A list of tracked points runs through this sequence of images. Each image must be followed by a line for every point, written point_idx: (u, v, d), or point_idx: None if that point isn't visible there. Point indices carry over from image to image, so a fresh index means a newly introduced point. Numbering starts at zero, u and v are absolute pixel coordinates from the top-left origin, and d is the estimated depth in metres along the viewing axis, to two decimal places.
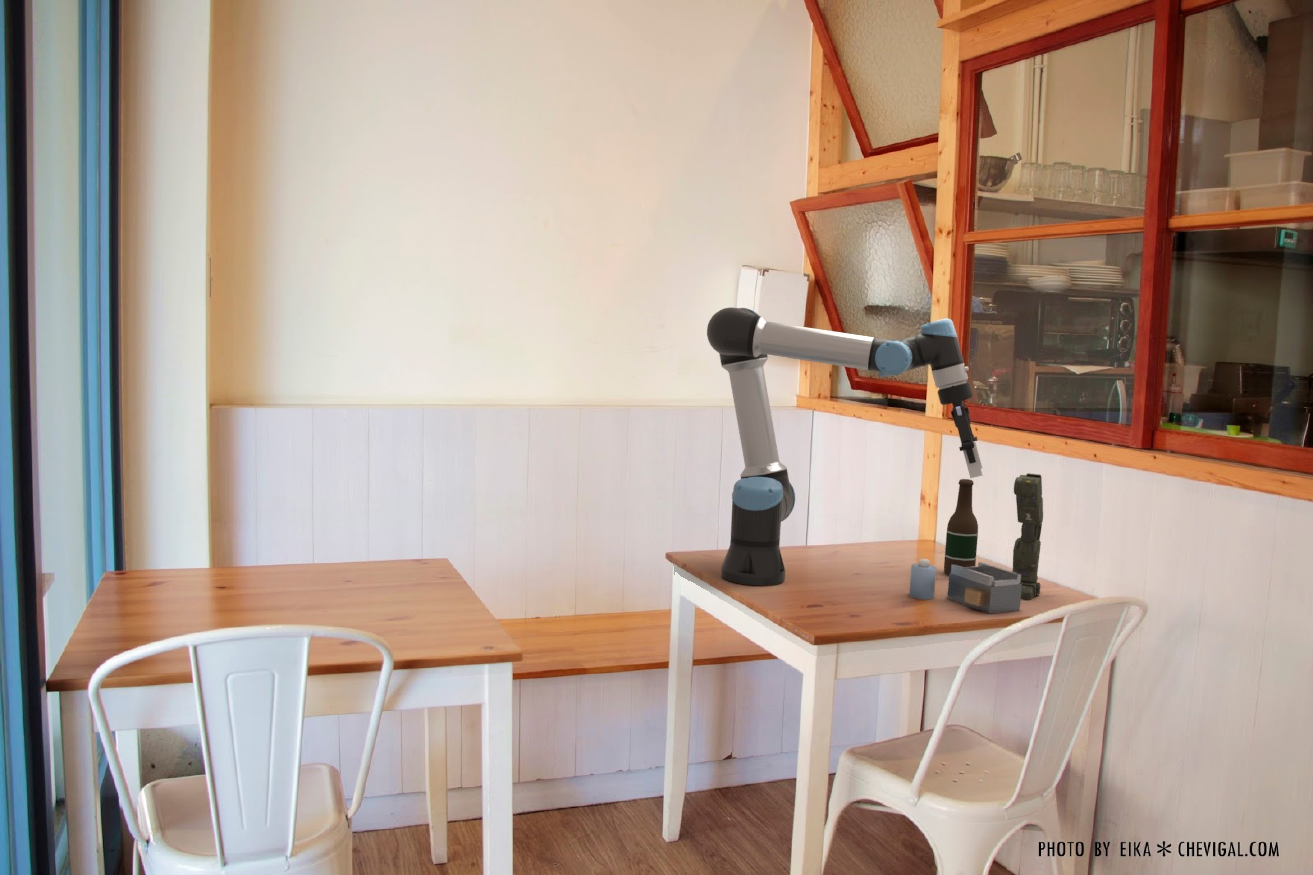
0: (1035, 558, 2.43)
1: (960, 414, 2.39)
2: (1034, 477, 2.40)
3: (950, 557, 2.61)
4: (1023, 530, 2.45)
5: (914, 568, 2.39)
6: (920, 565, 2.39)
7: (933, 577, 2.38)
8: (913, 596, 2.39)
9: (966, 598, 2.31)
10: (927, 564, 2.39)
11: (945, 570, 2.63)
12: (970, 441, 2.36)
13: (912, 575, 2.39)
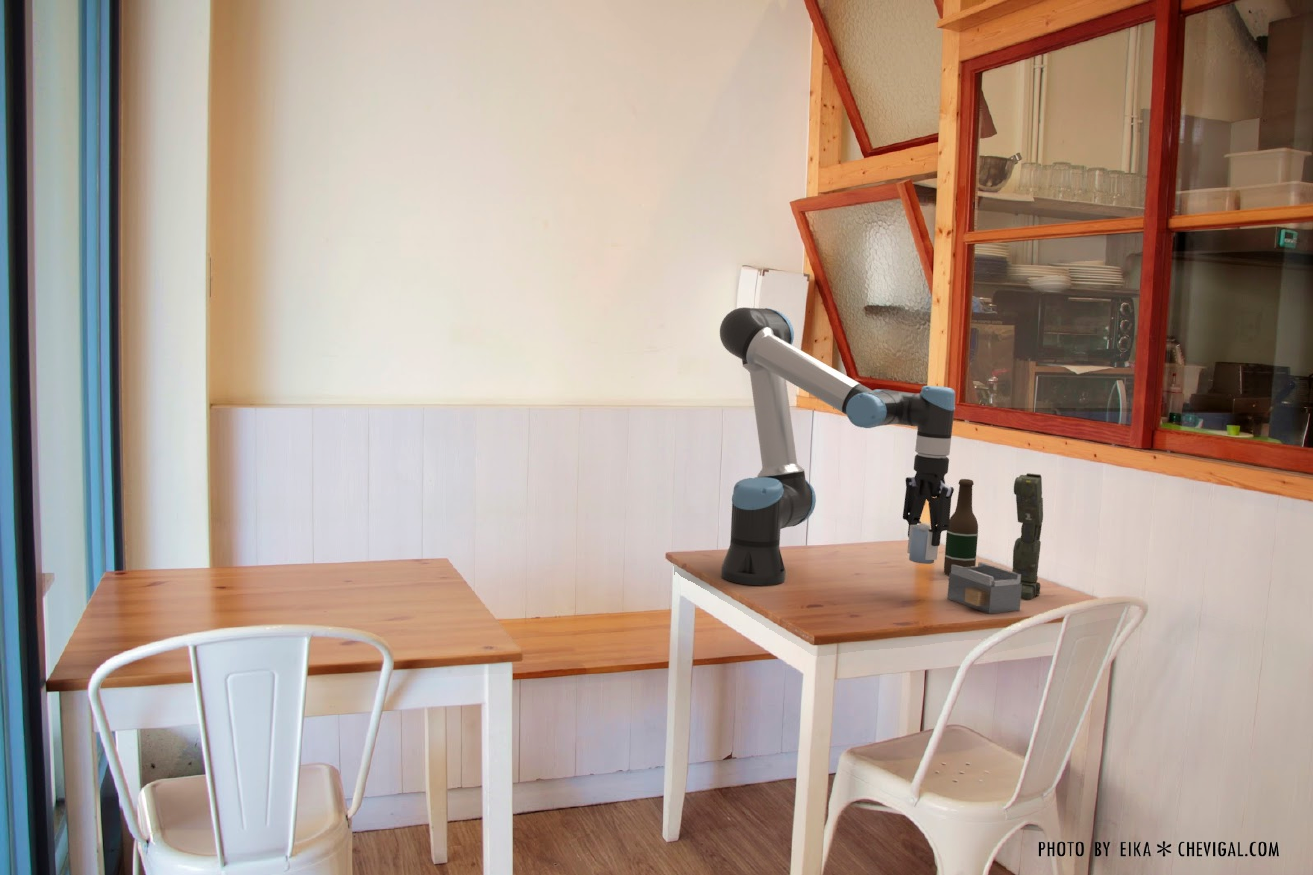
0: (1035, 558, 2.43)
1: (947, 496, 2.33)
2: (1034, 477, 2.40)
3: (950, 557, 2.61)
4: (1023, 530, 2.45)
5: (915, 532, 2.38)
6: (921, 529, 2.38)
7: None
8: (913, 560, 2.38)
9: (966, 598, 2.31)
10: (928, 528, 2.38)
11: (945, 570, 2.63)
12: (947, 526, 2.34)
13: (912, 539, 2.39)
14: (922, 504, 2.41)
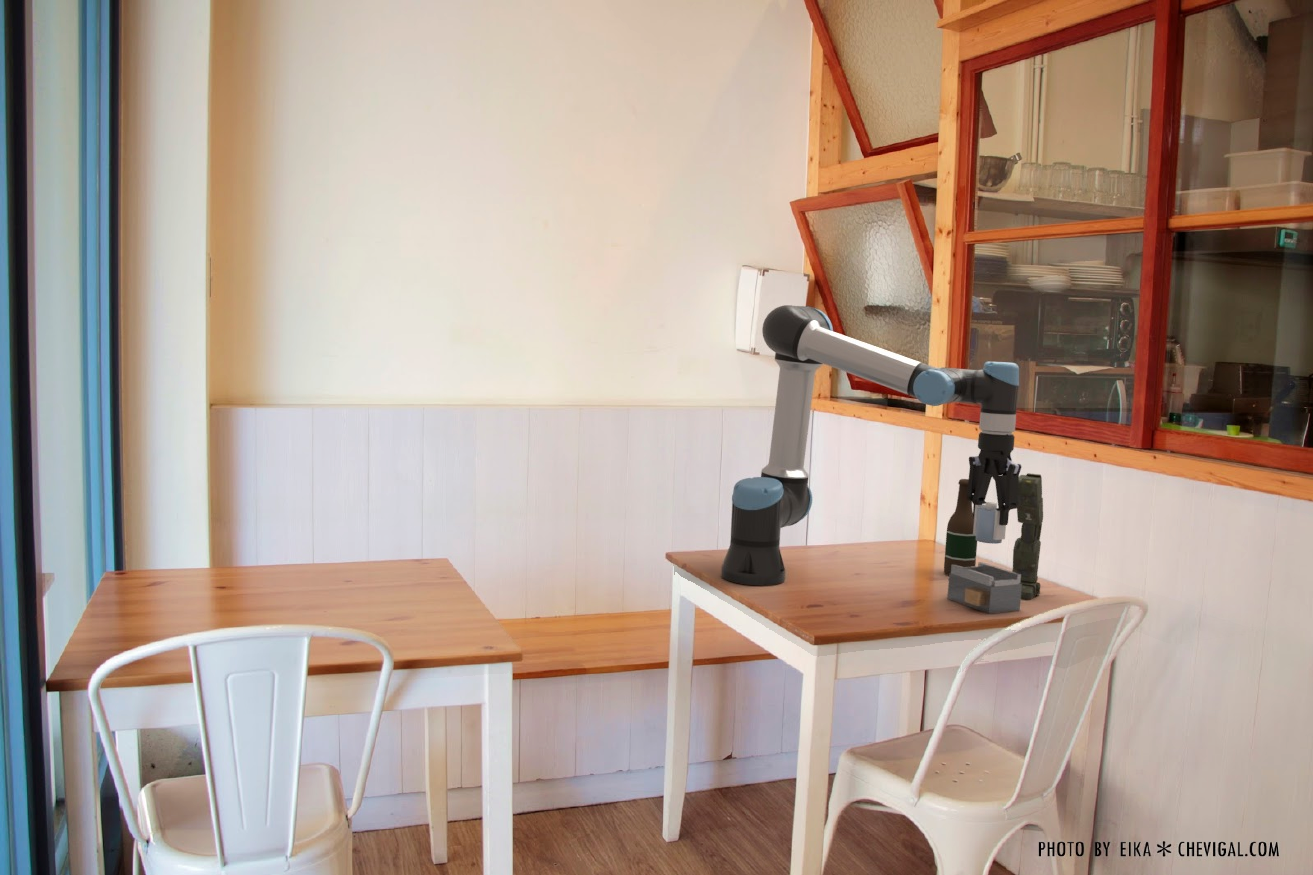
0: (1035, 558, 2.43)
1: (1015, 473, 2.27)
2: (1034, 477, 2.40)
3: (950, 557, 2.61)
4: (1023, 530, 2.45)
5: (981, 511, 2.32)
6: (987, 508, 2.33)
7: None
8: (980, 540, 2.33)
9: (966, 598, 2.31)
10: (995, 507, 2.32)
11: (945, 570, 2.63)
12: (1015, 504, 2.28)
13: (979, 519, 2.33)
14: (987, 483, 2.35)
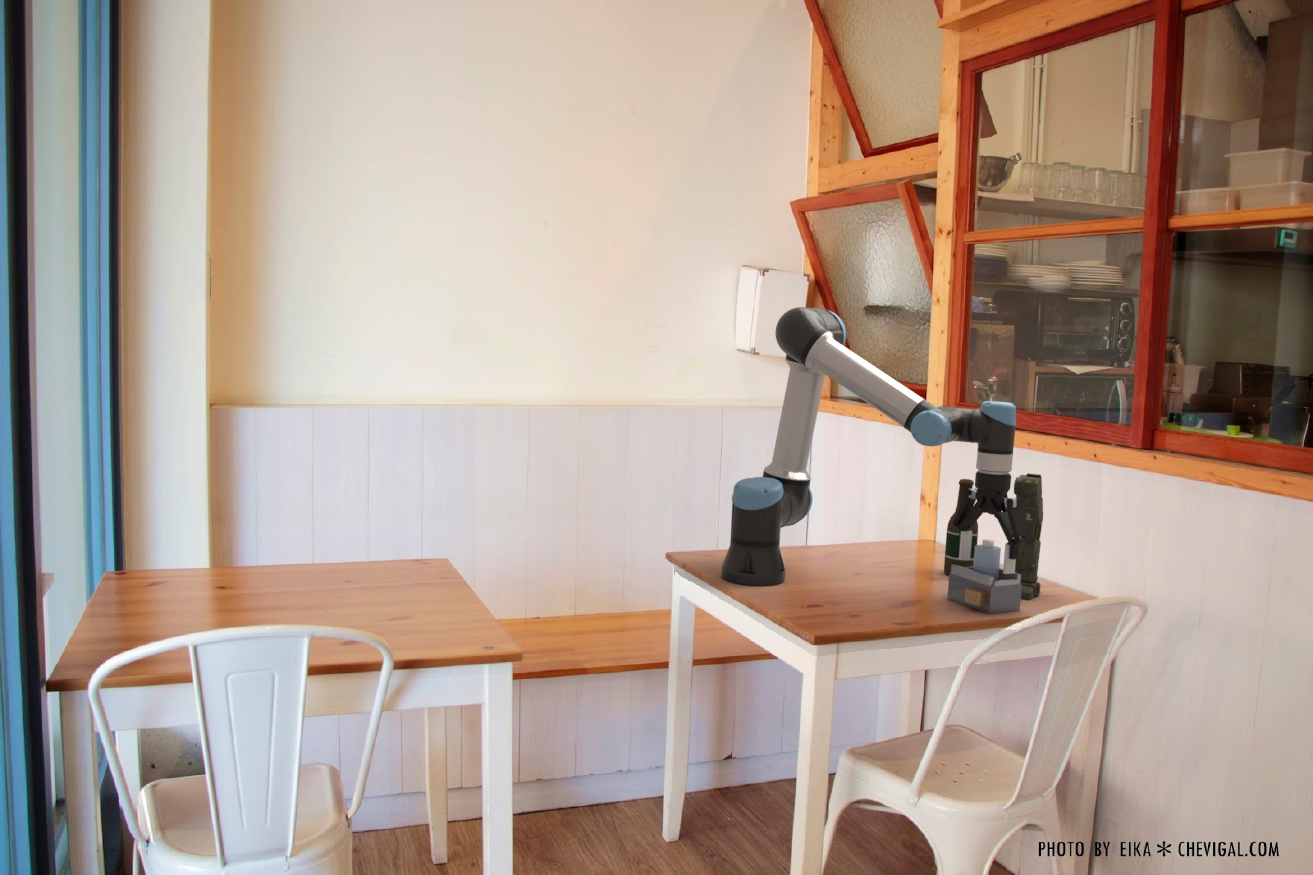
0: (1035, 558, 2.43)
1: (1014, 506, 2.27)
2: (1034, 477, 2.40)
3: (950, 557, 2.61)
4: None
5: (978, 549, 2.33)
6: (984, 546, 2.34)
7: (998, 558, 2.33)
8: None
9: (966, 598, 2.31)
10: (991, 545, 2.33)
11: (945, 570, 2.63)
12: (1025, 538, 2.25)
13: (976, 556, 2.34)
14: (977, 516, 2.38)
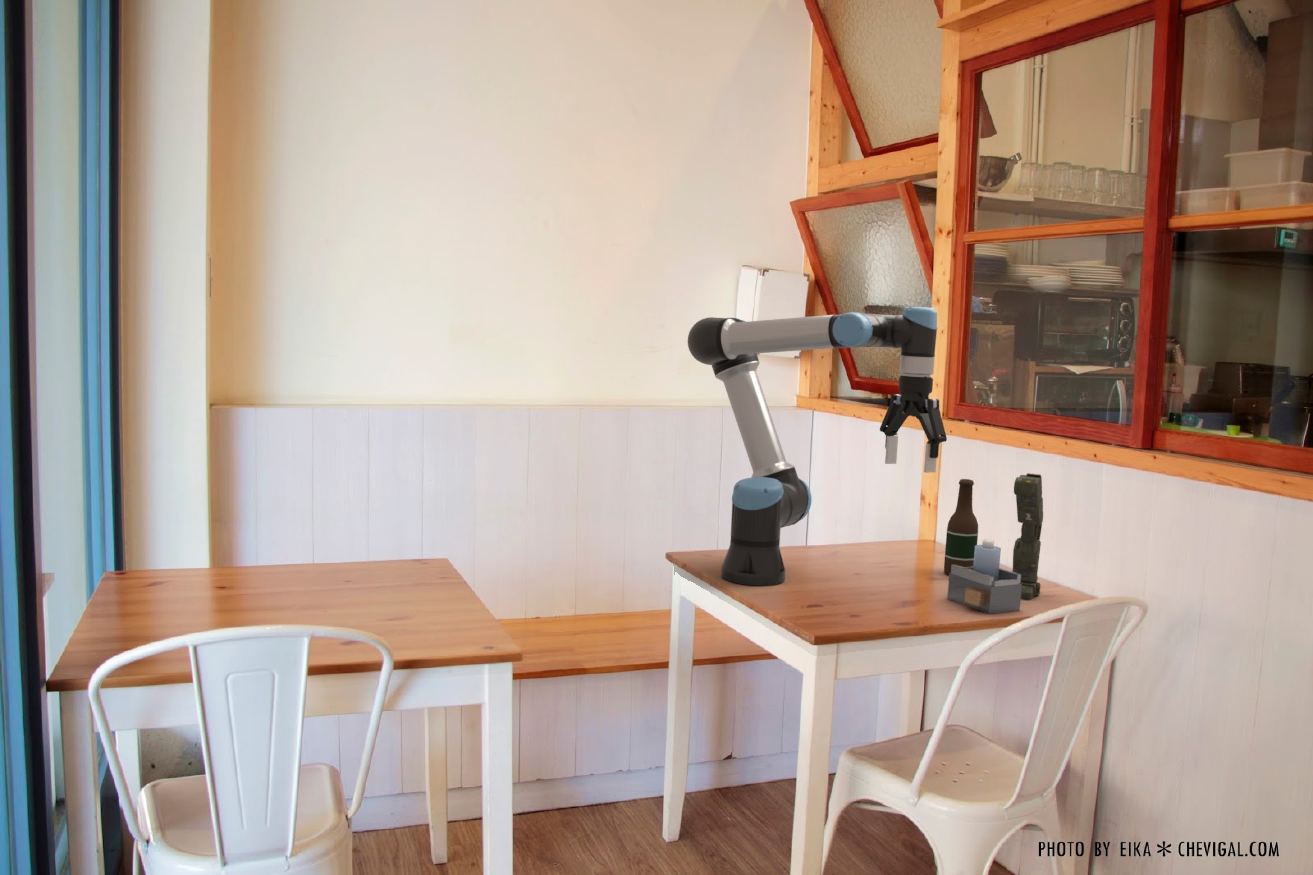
0: (1035, 558, 2.43)
1: (935, 407, 2.35)
2: (1034, 477, 2.40)
3: (950, 557, 2.61)
4: (1023, 530, 2.45)
5: (978, 549, 2.33)
6: (984, 546, 2.34)
7: (998, 558, 2.33)
8: None
9: (966, 598, 2.31)
10: (991, 545, 2.33)
11: (945, 570, 2.63)
12: (944, 436, 2.33)
13: (976, 556, 2.34)
14: (902, 421, 2.45)
